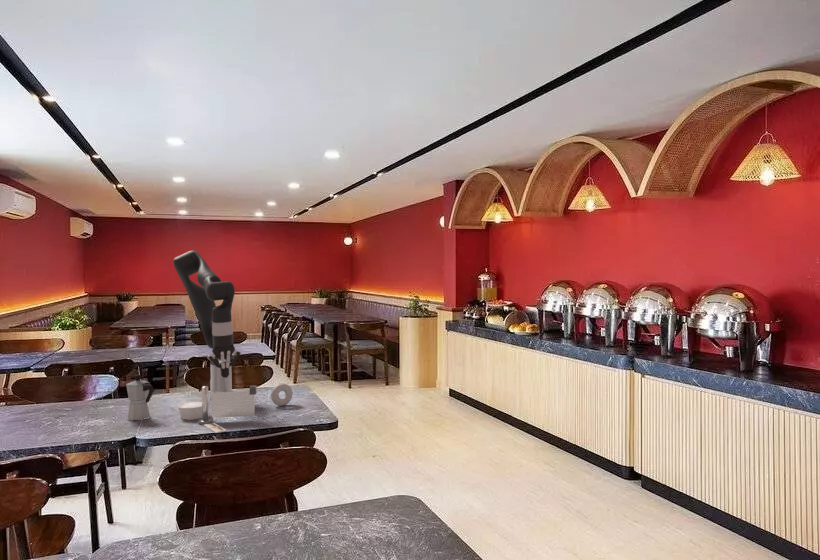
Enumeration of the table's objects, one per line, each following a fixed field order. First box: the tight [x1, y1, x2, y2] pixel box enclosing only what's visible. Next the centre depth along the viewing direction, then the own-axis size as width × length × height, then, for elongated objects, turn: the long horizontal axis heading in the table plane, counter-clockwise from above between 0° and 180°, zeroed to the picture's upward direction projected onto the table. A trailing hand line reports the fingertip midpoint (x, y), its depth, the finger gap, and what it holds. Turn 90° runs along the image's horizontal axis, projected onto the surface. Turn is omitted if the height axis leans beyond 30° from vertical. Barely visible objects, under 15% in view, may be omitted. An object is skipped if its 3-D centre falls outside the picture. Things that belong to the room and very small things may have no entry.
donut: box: [270, 383, 294, 407], centre depth 259 cm, size 10×4×10 cm, turn 125°
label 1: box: [203, 422, 221, 430], centre depth 227 cm, size 6×4×1 cm, turn 38°
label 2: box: [209, 426, 227, 434], centre depth 222 cm, size 6×4×1 cm, turn 38°
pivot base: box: [197, 417, 215, 426], centre depth 233 cm, size 6×6×1 cm
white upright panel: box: [201, 384, 258, 420], centre depth 234 cm, size 21×3×13 cm, turn 98°
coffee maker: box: [125, 374, 155, 421], centre depth 240 cm, size 15×9×18 cm, turn 65°
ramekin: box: [177, 401, 202, 421], centre depth 242 cm, size 11×11×5 cm
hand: (225, 377), depth 227 cm, fingers closed
